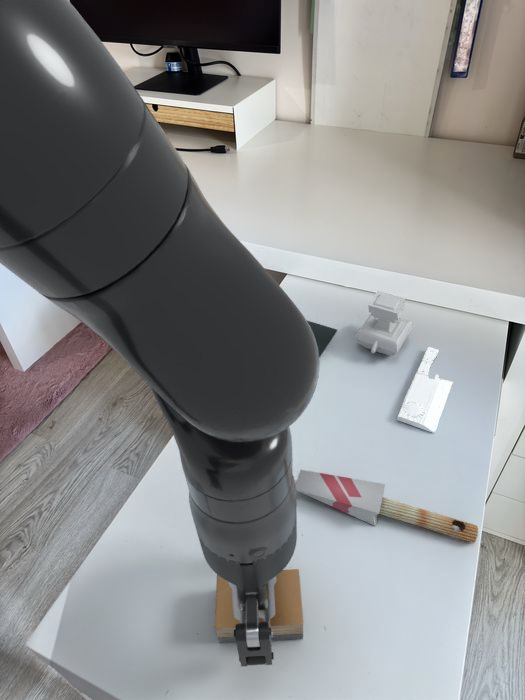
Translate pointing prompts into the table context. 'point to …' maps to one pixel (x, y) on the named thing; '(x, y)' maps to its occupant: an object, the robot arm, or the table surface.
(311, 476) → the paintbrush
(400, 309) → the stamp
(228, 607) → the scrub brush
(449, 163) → the table surface
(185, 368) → the robot arm
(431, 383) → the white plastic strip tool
